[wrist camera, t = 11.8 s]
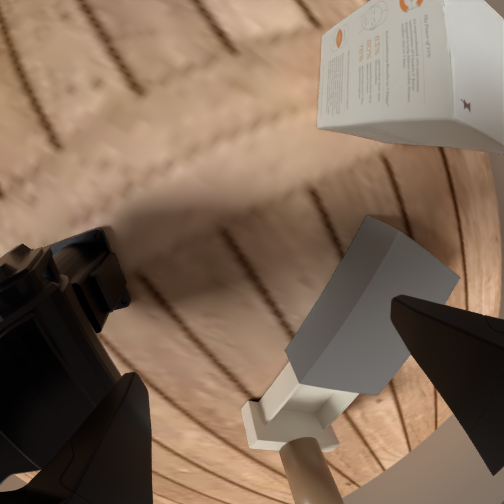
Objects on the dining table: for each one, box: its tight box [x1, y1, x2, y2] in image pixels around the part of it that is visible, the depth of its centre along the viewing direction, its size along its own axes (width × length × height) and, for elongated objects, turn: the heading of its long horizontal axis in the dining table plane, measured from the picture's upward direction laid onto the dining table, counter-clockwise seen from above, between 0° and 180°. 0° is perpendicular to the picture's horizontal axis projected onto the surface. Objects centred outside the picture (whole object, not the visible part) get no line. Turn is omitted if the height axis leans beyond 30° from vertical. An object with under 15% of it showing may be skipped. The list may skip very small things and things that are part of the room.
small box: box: [317, 0, 504, 155], centre depth 13 cm, size 8×6×13 cm
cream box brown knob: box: [241, 361, 359, 504], centre depth 21 cm, size 16×10×14 cm, turn 153°
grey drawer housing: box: [285, 215, 460, 395], centre depth 23 cm, size 14×10×4 cm
